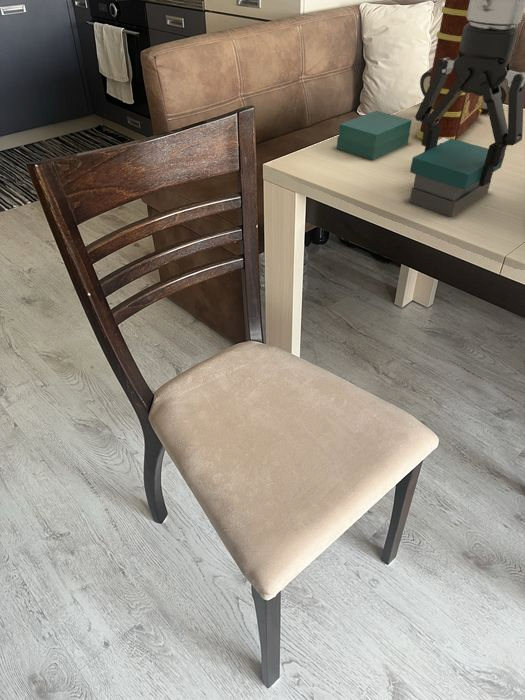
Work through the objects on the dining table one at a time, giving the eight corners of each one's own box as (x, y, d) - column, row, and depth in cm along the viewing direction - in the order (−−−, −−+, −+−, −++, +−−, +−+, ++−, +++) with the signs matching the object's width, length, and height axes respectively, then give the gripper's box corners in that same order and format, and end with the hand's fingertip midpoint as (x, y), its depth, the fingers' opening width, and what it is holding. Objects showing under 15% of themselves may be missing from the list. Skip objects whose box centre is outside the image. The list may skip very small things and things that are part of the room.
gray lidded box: (487, 193, 98) (495, 166, 95) (451, 217, 91) (458, 188, 87) (446, 180, 102) (452, 153, 99) (408, 202, 95) (414, 173, 92)
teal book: (500, 167, 94) (505, 153, 93) (464, 190, 87) (468, 174, 85) (448, 152, 99) (451, 138, 98) (409, 172, 92) (412, 157, 90)
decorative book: (450, 146, 116) (490, -25, 97) (414, 139, 119) (445, -29, 100) (479, 118, 131) (519, -36, 111) (446, 112, 134) (479, -38, 114)
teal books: (408, 144, 117) (412, 119, 113) (372, 160, 109) (376, 134, 106) (372, 133, 121) (375, 110, 118) (336, 148, 114) (338, 123, 111)
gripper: (409, 16, 83) (386, 162, 97) (561, 40, 71) (509, 201, 86) (435, 11, 87) (409, 151, 102) (581, 32, 76) (529, 187, 90)
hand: (454, 174), depth 94 cm, fingers closed on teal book, 10 cm apart
